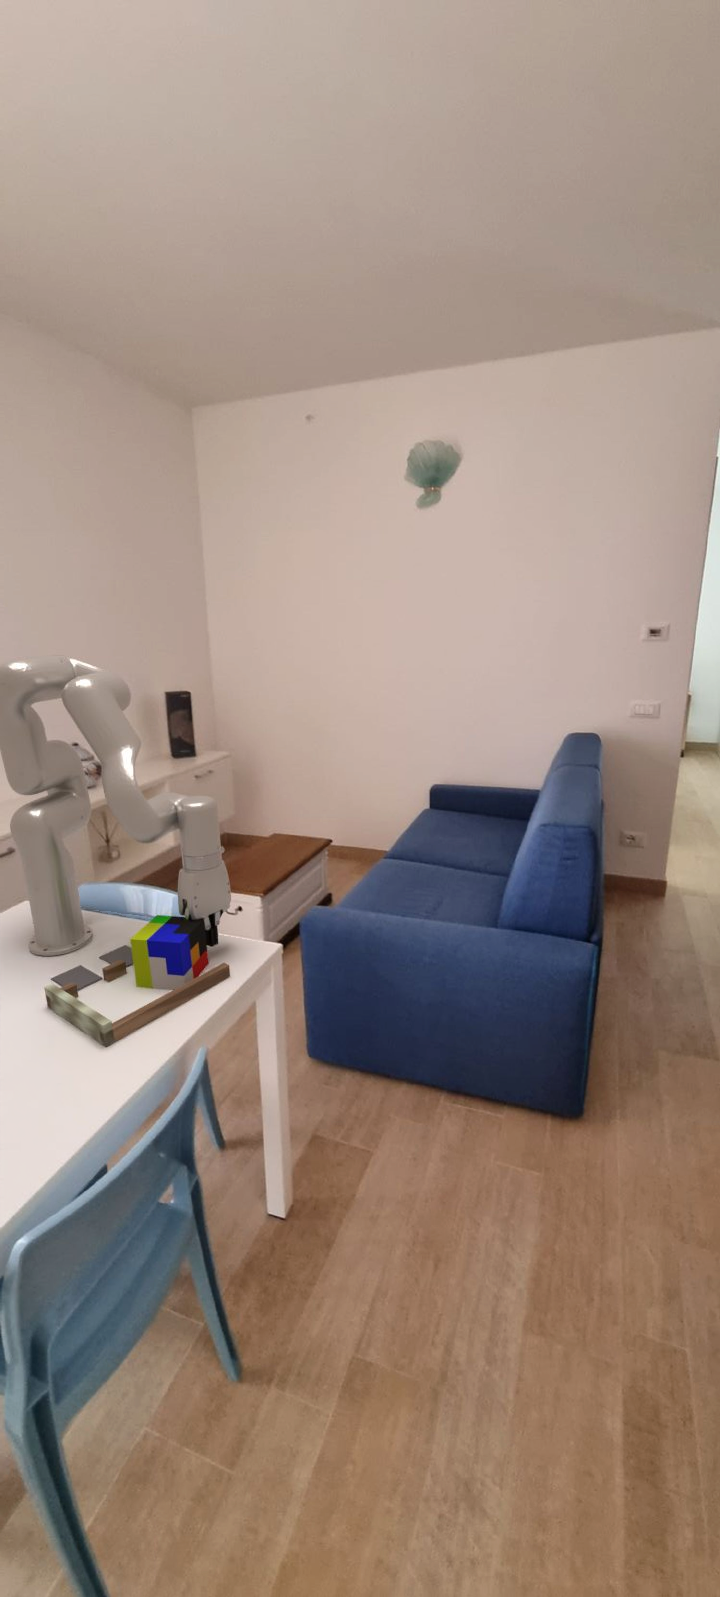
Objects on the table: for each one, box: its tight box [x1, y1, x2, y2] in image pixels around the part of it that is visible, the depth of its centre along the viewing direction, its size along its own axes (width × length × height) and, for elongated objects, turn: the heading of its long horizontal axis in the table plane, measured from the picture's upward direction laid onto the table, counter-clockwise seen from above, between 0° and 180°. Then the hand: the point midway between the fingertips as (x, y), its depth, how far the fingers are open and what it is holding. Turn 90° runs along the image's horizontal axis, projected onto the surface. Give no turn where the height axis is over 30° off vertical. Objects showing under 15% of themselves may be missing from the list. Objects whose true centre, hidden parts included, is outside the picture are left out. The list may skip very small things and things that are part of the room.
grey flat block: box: [50, 964, 104, 991], centre depth 124 cm, size 8×6×1 cm
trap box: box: [43, 960, 231, 1048], centre depth 119 cm, size 19×26×4 cm
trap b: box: [98, 944, 134, 969], centre depth 131 cm, size 8×6×1 cm
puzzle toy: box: [129, 914, 209, 991], centre depth 123 cm, size 10×10×10 cm
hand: (210, 943), depth 131 cm, fingers closed
